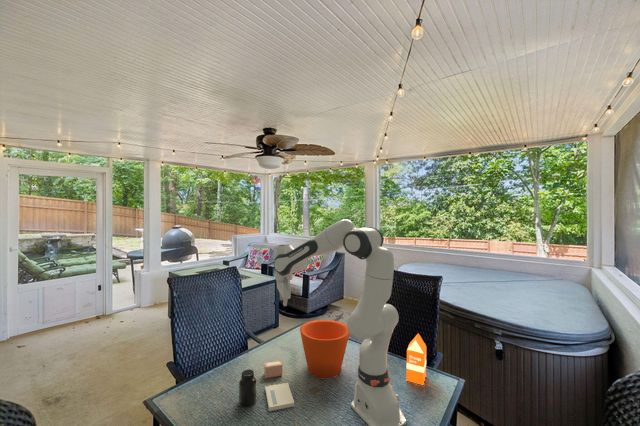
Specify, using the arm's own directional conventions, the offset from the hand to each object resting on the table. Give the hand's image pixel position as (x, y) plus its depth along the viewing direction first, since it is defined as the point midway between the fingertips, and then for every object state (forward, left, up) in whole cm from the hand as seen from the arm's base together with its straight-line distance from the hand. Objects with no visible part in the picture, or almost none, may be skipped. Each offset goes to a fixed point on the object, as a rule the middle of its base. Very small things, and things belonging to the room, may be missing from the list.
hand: (283, 302), depth 142 cm
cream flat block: (-26, +6, -31) cm, 41 cm away
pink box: (-9, +6, -31) cm, 33 cm away
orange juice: (-31, -58, -31) cm, 73 cm away
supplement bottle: (-25, +19, -31) cm, 44 cm away
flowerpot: (-11, -19, -31) cm, 38 cm away
